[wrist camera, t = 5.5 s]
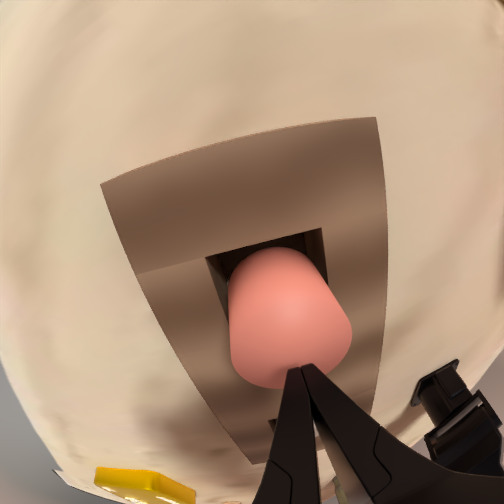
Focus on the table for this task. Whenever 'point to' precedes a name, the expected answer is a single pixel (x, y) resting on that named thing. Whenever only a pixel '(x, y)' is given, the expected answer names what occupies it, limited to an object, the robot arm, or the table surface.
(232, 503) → the cup with straw
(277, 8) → the table surface
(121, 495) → the element tile
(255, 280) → the pink rounded block
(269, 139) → the pin block
